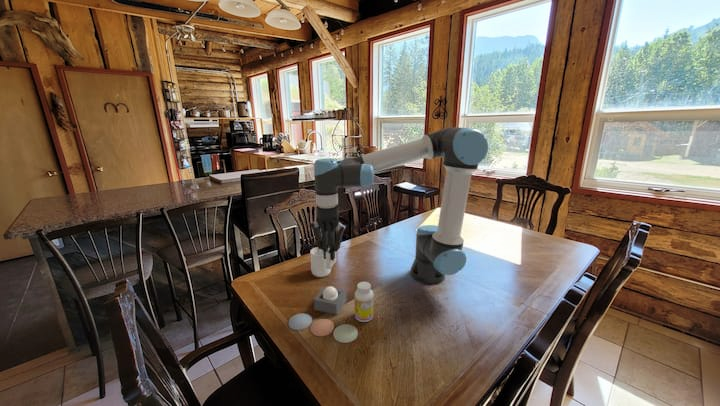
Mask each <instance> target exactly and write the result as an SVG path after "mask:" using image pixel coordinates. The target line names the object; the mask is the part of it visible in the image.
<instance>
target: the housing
mask: <svg viewBox="0 0 720 406" xmlns="http://www.w3.org/2000/svg"><path fill="white" fill-rule="evenodd" d="M327 287H328V286H323V288H321V290H320V292H318V294H317V295H316V296H315V297H314V299H313V307H314V311H318V312H322V313H326V314H331V315H335V316H338V314H339V312H340V311H341V309H342V308H343V306H344V305H345V303H346V302H347V290H345V289H341V288H340V289H339V288H335V287H334V288H335V289H336V290H337V292H338V297H337V299H336V300H335V301H331V300H326V299H323V292H324V290H325V289H326V288H327Z"/></svg>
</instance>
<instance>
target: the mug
mask: <svg viewBox="0 0 720 406" xmlns="http://www.w3.org/2000/svg"><path fill="white" fill-rule="evenodd" d="M328 249H329V248H328ZM309 254H310V270H311V274H312V275H313V276H314V277H316V278H323V277H325V278H326V277H327V276H328V275H329V274H331V271H332V268H331V269H326V259H324V254H323V250H322V249H318V246H317V247H312V249H310V253H309ZM336 262H337V252H335V259H334V260H333V265H334V264H336Z"/></svg>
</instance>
